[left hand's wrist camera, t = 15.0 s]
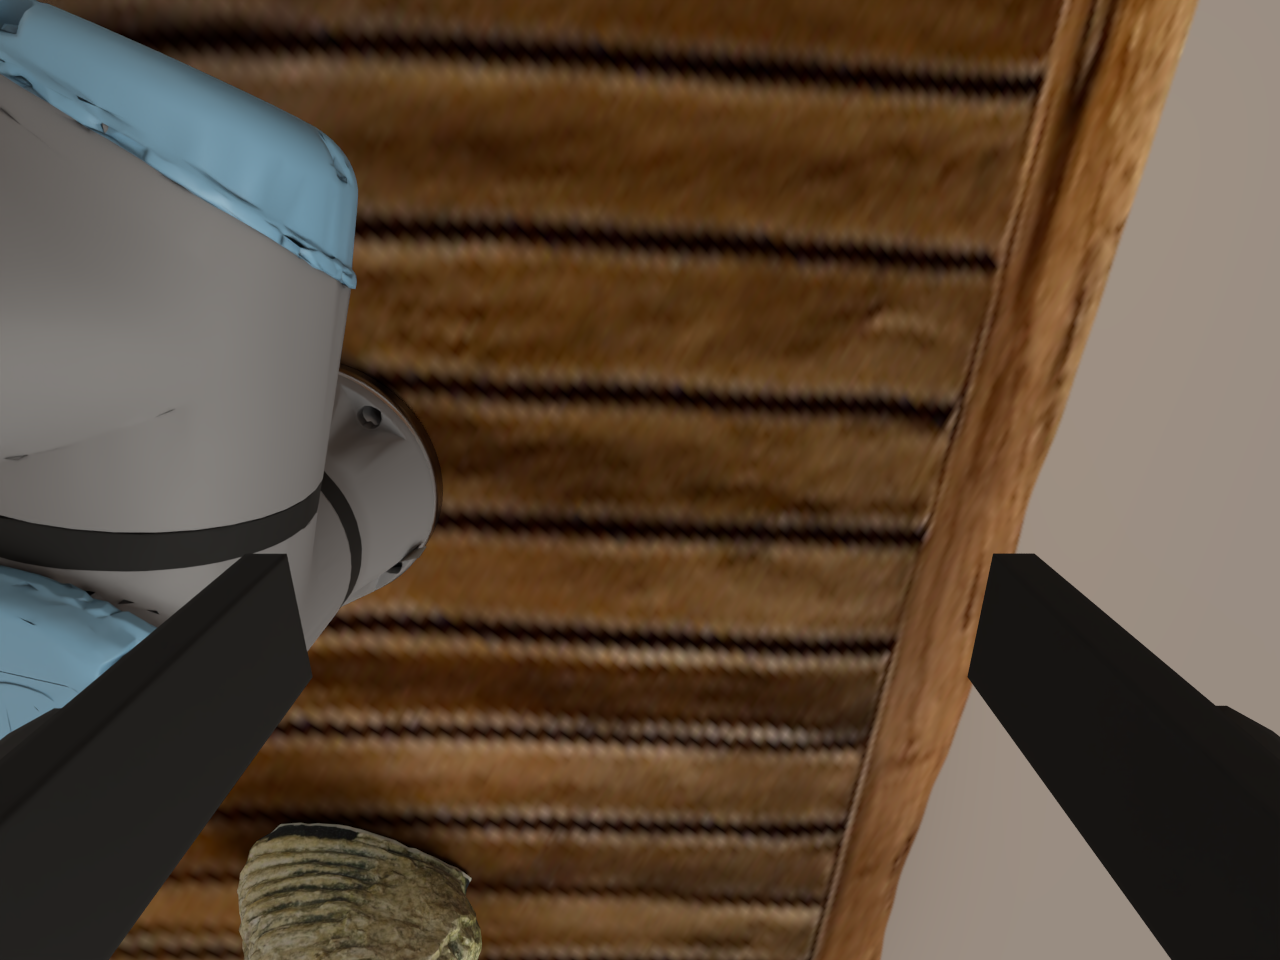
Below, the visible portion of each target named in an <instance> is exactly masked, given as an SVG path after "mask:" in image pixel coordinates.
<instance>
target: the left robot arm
mask: <svg viewBox="0 0 1280 960" xmlns="http://www.w3.org/2000/svg"><path fill="white" fill-rule="evenodd" d="M357 201H358V187H357V181H356V178H355V174H354V171H353V169H352V166H351V164H350V162H349V160H348V159H347V157H346V155H345V154H344V153H343V151H342V150H341V149H340V148H339V147H338V145H337V144H336V143H335V142H334V141H333V140H332V139H331V138H329V137H328V136H327V135H326V134H324V133H323V132H322V131H320V130H319V129H317V128H316V127H314V126H312V125H310V124H309V123H307V122H305V121H303V120H301V119H299V118H297V117H295V116H293V115H291V114H289V113H287V112H285V111H283V110H281V109H279V108H277V107H275V106H273V105H271V104H269V103H267V102H265V101H263V100H261V99H259V98H257V97H255V96H253V95H251V94H249V93H246V92H244V91H242V90H240V89H238V88H236V87H234V86H232V85H229V84H227V83H225V82H223V81H221V80H219V79H217V78H215V77H212V76H210V75H208V74H206V73H204V72H202V71H199V70H197V69H195V68H193V67H191V66H188V65H186V64H184V63H182V62H180V61H178V60H175V59H173V58H171V57H169V56H167V55H164V54H162V53H160V52H158V51H155V50H153V49H151V48H149V47H146V46H144V45H142V44H140V43H137V42H135V41H133V40H131V39H128V38H126V37H124V36H122V35H119V34H117V33H115V32H113V31H110V30H108V29H106V28H104V27H101V26H99V25H97V24H95V23H92V22H90V21H88V20H85V19H83V18H80V17H78V16H76V15H73V14H71V13H69V12H66V11H64V10H62V9H59V8H57V7H54V6H52V5H50V4H47V3H40V2H38V1H36V0H0V960H109V958H110V957H111V956H112V954H113V953H114V951H115V950H116V949H117V947H118V946H119V945H120V943H121V942H122V940H123V939H124V938H125V936H126V935H127V933H128V932H129V931H130V929H131V928H132V927H133V925H134V924H135V922H136V921H137V920H138V918H139V917H140V915H141V914H142V913H143V911H144V910H145V908H146V907H147V906H148V904H149V903H150V902H151V900H152V899H153V897H154V896H155V895H156V893H157V892H158V890H159V889H160V888H161V886H162V885H163V884H164V882H165V881H166V879H167V878H168V877H169V875H170V874H171V872H172V871H173V870H174V868H175V867H176V865H177V864H178V863H179V861H180V860H181V859H182V857H183V856H184V854H185V853H186V852H187V850H188V849H189V847H190V846H191V845H192V843H193V842H194V841H195V839H196V838H197V836H198V835H199V834H200V832H201V831H202V829H203V828H204V827H205V825H206V824H207V822H208V821H209V820H210V818H211V817H212V816H213V814H214V813H215V811H216V810H217V809H218V807H219V806H220V804H221V803H222V802H223V800H224V799H225V798H226V796H227V795H228V793H229V792H230V791H231V789H232V788H233V786H234V785H235V784H236V782H237V781H238V779H239V778H240V777H241V775H242V774H243V773H244V771H245V770H246V768H247V767H248V766H249V764H250V763H251V761H252V760H253V759H254V757H255V756H256V755H257V753H258V752H259V750H260V749H261V748H262V746H263V745H264V743H265V742H266V741H267V739H268V738H269V736H270V735H271V734H272V732H273V731H274V730H275V728H276V727H277V725H278V724H279V723H280V721H281V720H282V718H283V717H284V716H285V714H286V713H287V712H288V710H289V709H290V707H291V706H292V705H293V703H294V702H295V700H296V699H297V698H298V696H299V695H300V693H301V692H302V691H303V689H304V688H305V687H306V685H307V684H308V682H309V681H310V680H311V678H312V672H311V667H310V663H309V658H308V653H307V651H308V650H309V649H310V647H311V646H312V645H313V643H314V642H315V641H316V639H317V638H318V637H319V635H320V634H321V633H322V631H323V630H324V629H325V627H326V626H327V625H328V624H329V622H330V621H331V620H332V618H333V617H334V616H335V614H336V613H337V612H338V610H339V609H340V607H342V606H344V605H346V604H348V603H350V602H352V601H354V600H356V599H358V598H360V597H363V596H365V595H367V594H369V593H371V592H373V591H375V590H377V589H379V588H381V587H383V586H385V585H387V584H388V583H390V582H392V581H393V580H395V579H396V578H397V577H399V576H400V575H401V574H402V573H404V572H405V571H406V570H407V569H408V568H409V567H410V566H411V565H412V563H413V562H414V561H415V560H416V559H417V558H419V557H420V555H421V554H422V552H423V551H424V550H425V548H426V547H427V546H426V547H425V545H426V544H427V542H428V541H429V539H430V537H431V536H432V534H433V532H434V530H435V527H436V525H437V522H438V519H439V515H440V512H441V506H442V496H443V485H442V475H441V469H440V465H439V461H438V457H437V454H436V452H435V449H434V446H433V444H432V442H431V440H430V438H429V436H428V434H427V432H426V431H425V429H424V427H423V426H422V424H421V423H420V421H419V420H418V419H417V417H416V416H415V415H414V413H413V412H412V411H411V410H410V409H409V408H408V406H407V405H406V404H405V403H404V402H403V401H402V400H401V399H400V398H399V397H398V396H396V395H395V394H394V393H393V392H392V391H390V390H389V389H388V388H387V387H385V386H384V385H382V384H381V383H379V382H378V381H376V380H375V379H373V378H371V377H370V376H368V375H366V374H364V373H362V372H360V371H358V370H356V369H353V368H351V367H348V366H345V365H342V364H340V359H341V352H342V345H343V338H344V332H345V325H346V318H347V311H348V305H349V298H350V291H351V288H352V289H356V283H357V280H356V275H355V273H354V271H353V270H352V259H353V248H354V236H355V224H356V213H357ZM968 678H969V680H970V681H971V682H972V684H973V685H974V687H975V688H976V689H977V691H978V692H979V693H980V695H981V696H982V698H983V699H984V700H985V702H986V703H987V705H988V706H989V707H990V709H991V710H992V712H993V713H994V714H995V716H996V717H997V718H998V720H999V721H1000V723H1001V724H1002V725H1003V727H1004V728H1005V729H1006V731H1007V732H1008V734H1009V735H1010V736H1011V738H1012V739H1013V741H1014V742H1015V743H1016V745H1017V746H1018V748H1019V749H1020V750H1021V752H1022V753H1023V755H1024V756H1025V757H1026V759H1027V760H1028V761H1029V763H1030V764H1031V766H1032V767H1033V768H1034V770H1035V771H1036V773H1037V774H1038V775H1039V777H1040V778H1041V779H1042V781H1043V782H1044V784H1045V785H1046V786H1047V788H1048V789H1049V790H1050V792H1051V793H1052V795H1053V796H1054V797H1055V799H1056V800H1057V802H1058V803H1059V804H1060V806H1061V807H1062V809H1063V810H1064V811H1065V813H1066V814H1067V816H1068V817H1069V818H1070V820H1071V821H1072V822H1073V824H1074V825H1075V827H1076V828H1077V829H1078V831H1079V832H1080V834H1081V835H1082V836H1083V838H1084V839H1085V841H1086V842H1087V843H1088V845H1089V846H1090V847H1091V849H1092V850H1093V852H1094V853H1095V854H1096V856H1097V857H1098V859H1099V860H1100V861H1101V863H1102V864H1103V865H1104V867H1105V868H1106V869H1107V871H1108V872H1109V874H1110V875H1111V877H1112V878H1113V879H1114V881H1115V882H1116V883H1117V885H1118V886H1119V888H1120V889H1121V890H1122V892H1123V893H1124V894H1125V896H1126V897H1127V899H1128V900H1129V902H1130V903H1131V904H1132V906H1133V907H1134V908H1135V910H1136V911H1137V913H1138V914H1139V915H1140V917H1141V918H1142V920H1143V921H1144V922H1145V924H1146V925H1147V926H1148V928H1149V929H1150V931H1151V932H1152V933H1153V935H1154V936H1155V938H1156V939H1157V940H1158V942H1159V943H1160V945H1161V946H1162V947H1163V949H1164V950H1165V951H1166V953H1167V954H1168V956H1169V957H1170V958H1171V960H1280V737H1279V736H1278V735H1277V734H1276V733H1274V732H1273V731H1271V730H1270V729H1268V728H1266V727H1264V726H1262V725H1261V724H1259V723H1257V722H1255V721H1253V720H1252V719H1250V718H1248V717H1246V716H1244V715H1242V714H1241V713H1239V712H1237V711H1235V710H1233V709H1231V708H1230V707H1228V706H1215V705H1214V704H1213V703H1212V702H1210V701H1209V700H1208V699H1207V698H1206V697H1204V696H1203V695H1202V694H1201V693H1200V692H1199V691H1197V690H1196V689H1195V688H1194V687H1193V686H1191V685H1190V684H1189V683H1188V682H1187V681H1185V680H1184V679H1183V678H1182V677H1181V676H1180V675H1178V674H1177V673H1176V672H1175V671H1173V670H1172V669H1171V668H1170V667H1169V666H1168V665H1166V664H1165V663H1164V662H1163V661H1162V660H1160V659H1159V658H1158V657H1157V656H1156V655H1154V654H1153V653H1152V652H1151V651H1150V650H1149V649H1147V648H1146V647H1145V646H1144V645H1143V644H1141V643H1140V642H1139V641H1138V640H1137V639H1135V638H1134V637H1133V636H1132V635H1131V634H1129V633H1128V632H1127V631H1126V630H1125V629H1124V628H1122V627H1121V626H1120V625H1119V624H1118V623H1116V622H1115V621H1114V620H1113V619H1112V618H1110V617H1109V616H1108V615H1107V614H1106V613H1104V612H1103V611H1102V610H1101V609H1100V608H1099V607H1097V606H1096V605H1095V604H1094V603H1093V602H1091V601H1090V600H1089V599H1088V598H1087V597H1085V596H1084V595H1083V594H1082V593H1081V592H1079V591H1078V590H1077V589H1076V588H1075V587H1074V586H1072V585H1071V584H1070V583H1069V582H1068V581H1066V580H1065V579H1064V578H1063V577H1062V576H1060V575H1059V574H1058V573H1057V572H1056V571H1054V570H1053V569H1052V568H1051V567H1050V566H1049V565H1047V564H1046V563H1045V562H1044V561H1043V560H1041V559H1040V558H1039V557H1038V556H1037V555H1035V554H993V557H992V562H991V566H990V571H989V576H988V581H987V586H986V591H985V595H984V600H983V605H982V610H981V615H980V619H979V624H978V629H977V634H976V639H975V643H974V648H973V653H972V658H971V663H970V667H969V672H968Z"/></svg>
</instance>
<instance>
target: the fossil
mask: <svg viewBox="0 0 1280 960" xmlns="http://www.w3.org/2000/svg"><path fill="white" fill-rule="evenodd" d="M471 879H472V878H470V877H469V876H468V875H466V874H465V873H464V872H462V871H461V870H459V869H458V868H456V867H453V866H451V865H448V864H447V863H445V862H443V861H441V860H439V859H437V858H435V857H433V856H430V855H428V854H426V853H424V852H422V851H420V850H418V849H416V848H408V847H407V846H405V845H403V844H401V843H399V842H397V841H395V840H393V839H390V838H387V837H384V836H380V835H377V834H374V833H371V832H368V831H365V830H362V829H357V828H353V827H350V826H344V825H338V824H322V823H315V824H306V823H290V824H280V825H279V826H278V827H277V828H276V829H275V830H274V831H273V832H271V833H270V834H268V835H266V836H264V837H262V838H261V839H259V840H258V841H257V842H256V843H255V844H254V845H253V846H252V848H251V849H250V851H249V856H248V860H247V863H246V865H245V867H244V868H243V870H242V872H241V873H240V881H239V887H238V890H237V892H238V895H239V913H240V916H241V925H240V928H239V932H240V934H241V936H242V939H243V951H244V955H245V956H244V960H477V959H478V956H479V954H480V952H481V948H482V940H481V930H480V927H479V925H478V923H477V920H476V913H475V911H474V910H473V908H472V906H471V904H470V903H469V901H468V899H467V898H466V889H467V887H468V885H469V883H470V881H471Z"/></svg>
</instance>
